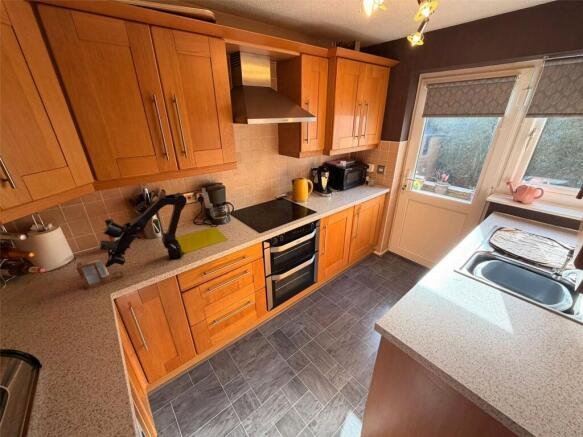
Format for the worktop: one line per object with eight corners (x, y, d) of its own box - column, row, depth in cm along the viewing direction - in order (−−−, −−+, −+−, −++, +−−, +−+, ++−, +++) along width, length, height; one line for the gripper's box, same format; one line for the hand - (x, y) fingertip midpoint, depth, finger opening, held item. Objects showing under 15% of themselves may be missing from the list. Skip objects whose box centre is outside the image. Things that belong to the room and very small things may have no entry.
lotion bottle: (112, 250, 143) (100, 222, 134) (115, 246, 148) (104, 218, 139) (122, 249, 144) (111, 220, 135) (125, 244, 149) (115, 217, 140)
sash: (108, 274, 120) (102, 258, 116) (109, 275, 119) (102, 259, 115) (94, 278, 117) (86, 262, 112) (94, 280, 116) (86, 264, 112)
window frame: (120, 272, 124) (112, 252, 118) (121, 277, 120) (112, 257, 115) (87, 283, 116) (76, 263, 111) (86, 289, 113) (76, 268, 107)
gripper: (106, 228, 120) (88, 253, 119) (108, 243, 107) (87, 271, 105) (129, 236, 128) (111, 260, 126) (133, 251, 115) (114, 277, 113)
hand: (106, 266), depth 118 cm, fingers closed, pressing on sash
